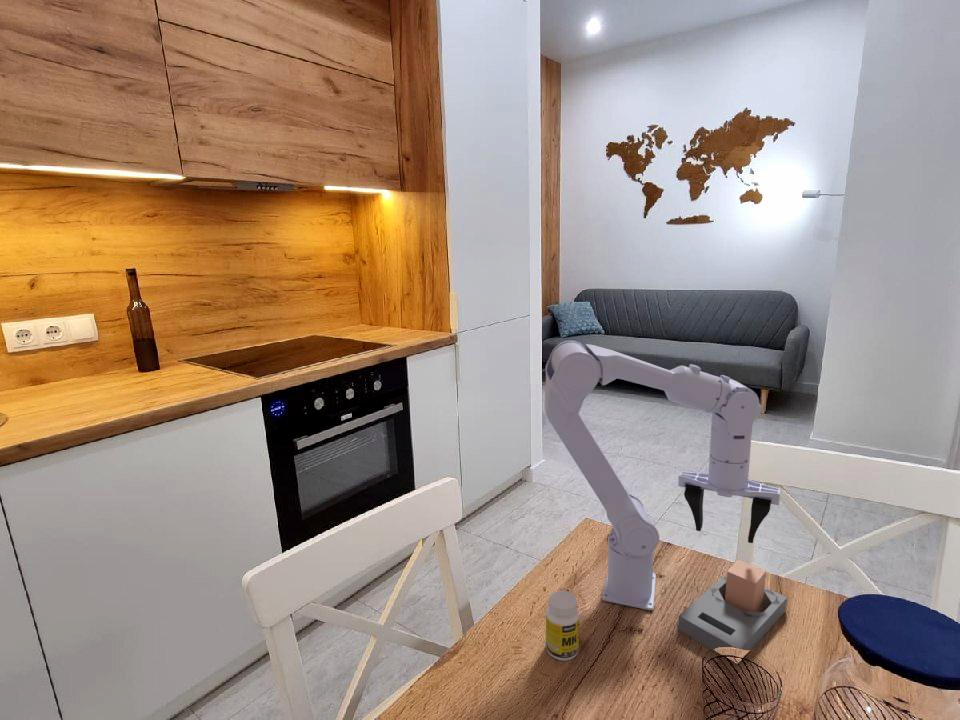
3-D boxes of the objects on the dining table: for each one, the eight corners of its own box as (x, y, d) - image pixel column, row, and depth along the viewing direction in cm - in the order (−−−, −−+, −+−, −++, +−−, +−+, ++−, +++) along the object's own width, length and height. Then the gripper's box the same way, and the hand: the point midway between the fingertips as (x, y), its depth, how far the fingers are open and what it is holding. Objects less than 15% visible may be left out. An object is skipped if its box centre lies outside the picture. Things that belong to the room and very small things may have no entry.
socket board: (737, 665, 72) (739, 649, 71) (677, 629, 79) (678, 615, 78) (785, 611, 82) (787, 597, 81) (728, 583, 89) (729, 570, 88)
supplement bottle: (563, 667, 73) (563, 615, 71) (539, 648, 76) (538, 598, 74) (585, 649, 76) (586, 599, 74) (561, 632, 79) (561, 583, 77)
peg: (724, 610, 82) (727, 571, 81) (734, 597, 85) (738, 559, 84) (752, 623, 80) (756, 583, 78) (762, 609, 82) (766, 570, 81)
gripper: (675, 457, 82) (672, 534, 85) (781, 475, 75) (774, 558, 78) (684, 442, 88) (681, 514, 91) (783, 456, 81) (776, 535, 84)
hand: (724, 533), depth 85 cm, fingers open, 7 cm apart
